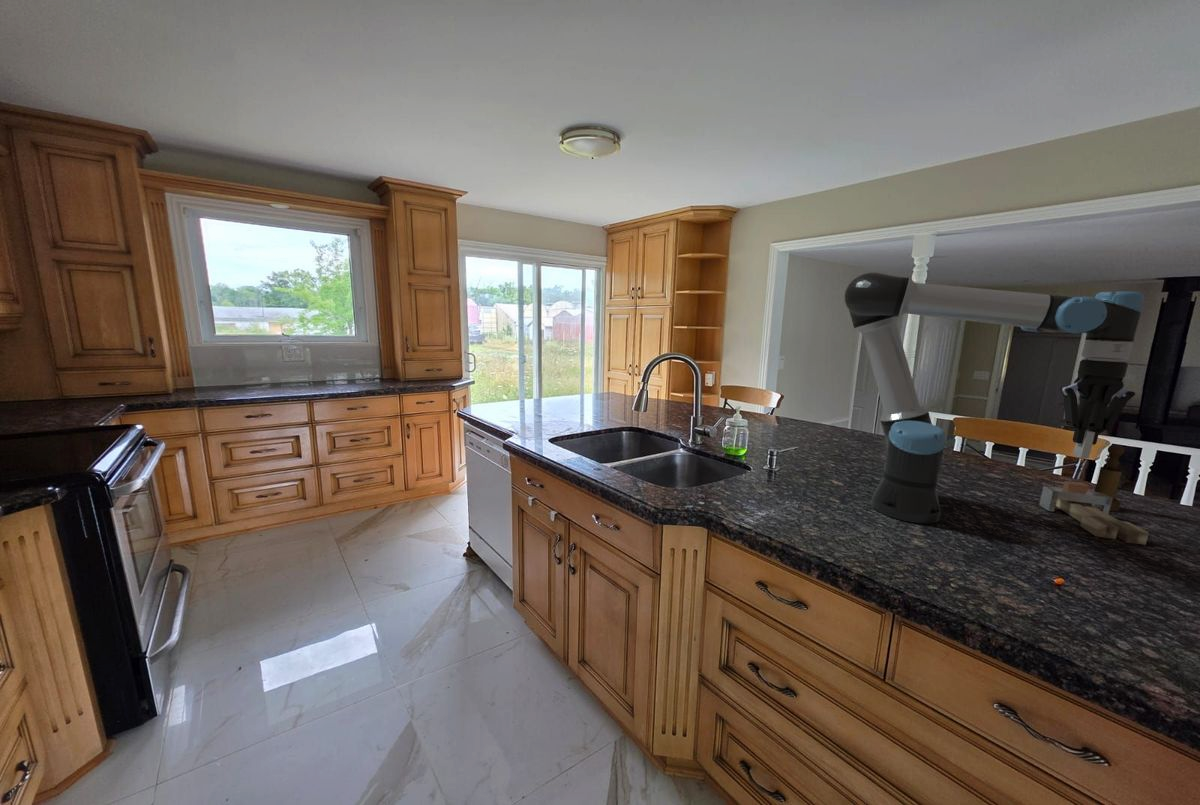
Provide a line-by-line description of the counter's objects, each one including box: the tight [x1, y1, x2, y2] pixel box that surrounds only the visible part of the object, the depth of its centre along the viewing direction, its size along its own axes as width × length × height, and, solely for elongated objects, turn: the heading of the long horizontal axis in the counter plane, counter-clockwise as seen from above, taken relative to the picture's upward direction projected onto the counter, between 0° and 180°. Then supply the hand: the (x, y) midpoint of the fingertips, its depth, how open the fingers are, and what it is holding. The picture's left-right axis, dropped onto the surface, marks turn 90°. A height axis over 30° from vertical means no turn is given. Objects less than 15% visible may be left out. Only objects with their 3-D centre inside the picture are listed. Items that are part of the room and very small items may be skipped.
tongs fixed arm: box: [1056, 501, 1150, 546], centre depth 114 cm, size 5×23×3 cm, turn 162°
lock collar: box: [1038, 480, 1113, 515], centre depth 119 cm, size 12×4×8 cm, turn 72°
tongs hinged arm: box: [1055, 486, 1119, 540], centre depth 115 cm, size 6×24×4 cm, turn 158°
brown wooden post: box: [1087, 444, 1125, 512], centre depth 123 cm, size 7×6×18 cm
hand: (1080, 456), depth 108 cm, fingers closed
